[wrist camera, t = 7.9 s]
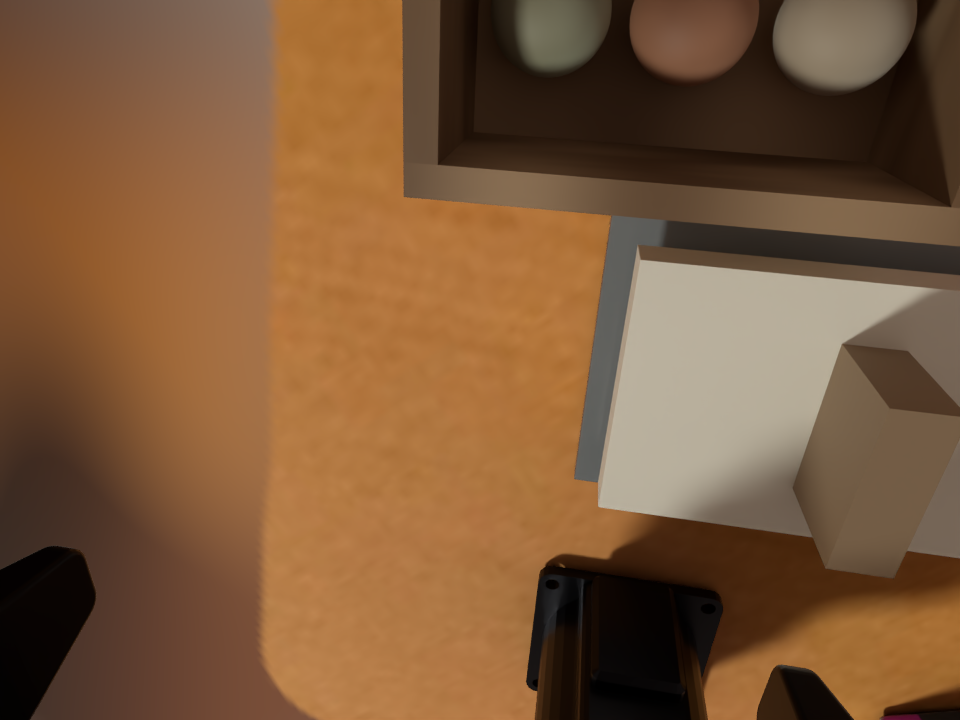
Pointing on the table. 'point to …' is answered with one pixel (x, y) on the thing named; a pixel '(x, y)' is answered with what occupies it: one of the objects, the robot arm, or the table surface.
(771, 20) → the box
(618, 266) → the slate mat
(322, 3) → the table surface
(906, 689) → the table surface
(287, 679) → the table surface
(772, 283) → the lid
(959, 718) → the candy bar box
